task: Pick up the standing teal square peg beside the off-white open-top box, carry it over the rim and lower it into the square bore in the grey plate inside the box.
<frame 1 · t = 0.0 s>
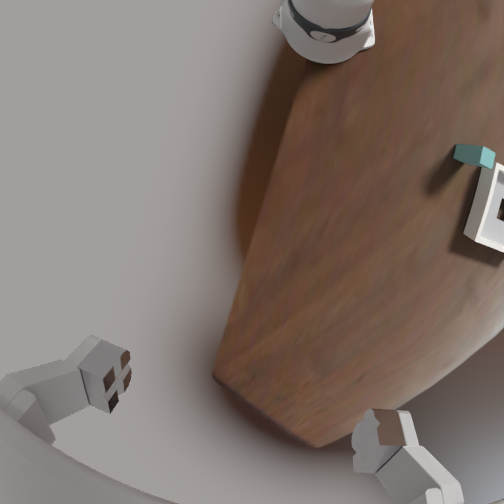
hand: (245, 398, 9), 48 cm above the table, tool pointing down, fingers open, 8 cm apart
box: (499, 208, 47), on the table
peg: (460, 153, 45), on the table
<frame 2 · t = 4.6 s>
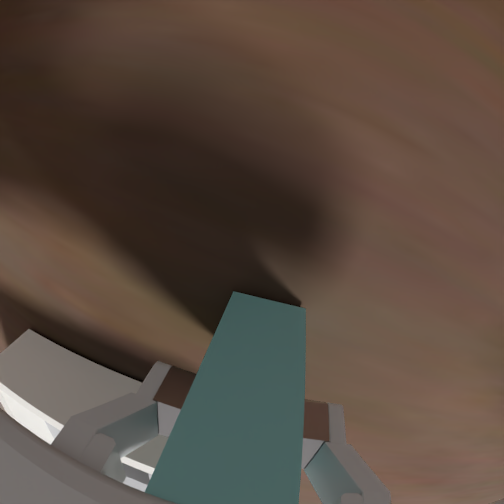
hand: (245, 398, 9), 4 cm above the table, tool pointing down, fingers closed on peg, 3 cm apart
box: (132, 441, 18), on the table
peg: (261, 329, 13), on the table, touching gripper
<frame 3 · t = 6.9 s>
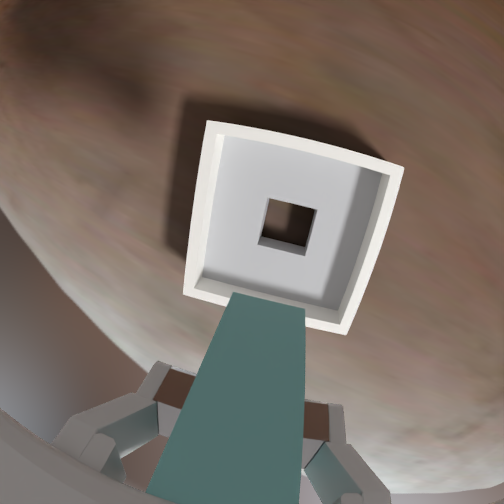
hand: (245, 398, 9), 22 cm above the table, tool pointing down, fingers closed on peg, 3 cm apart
box: (288, 220, 29), on the table
peg: (261, 329, 13), point 18 cm above the table, touching gripper
when the fingers open (6 cm above the table, at t = 9.5 s): peg drops 2 cm, resting in box.
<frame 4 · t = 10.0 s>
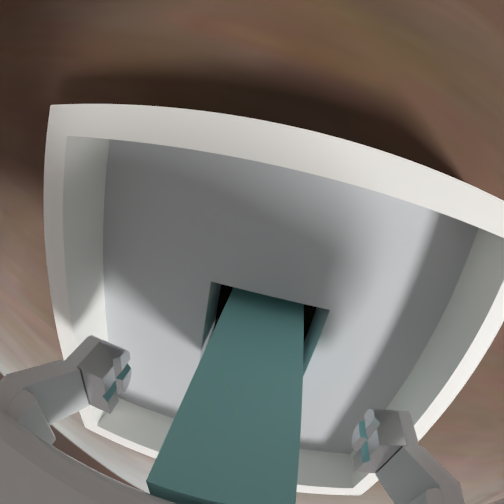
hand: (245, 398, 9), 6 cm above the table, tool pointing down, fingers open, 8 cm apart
box: (265, 311, 14), on the table
peg: (264, 311, 14), resting in box
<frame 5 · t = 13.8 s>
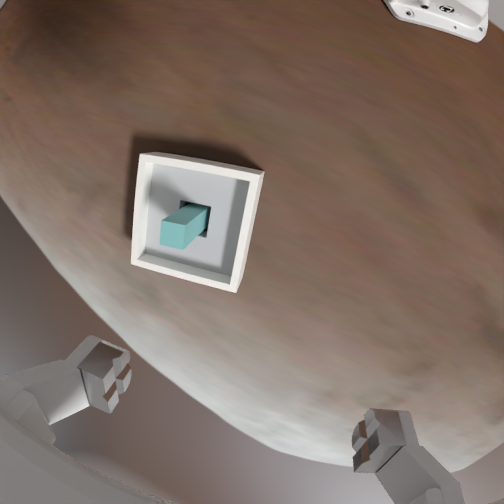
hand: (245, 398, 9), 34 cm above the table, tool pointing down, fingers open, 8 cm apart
box: (198, 214, 43), on the table
peg: (198, 214, 43), resting in box
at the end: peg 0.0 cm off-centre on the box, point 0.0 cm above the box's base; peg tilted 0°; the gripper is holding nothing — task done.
